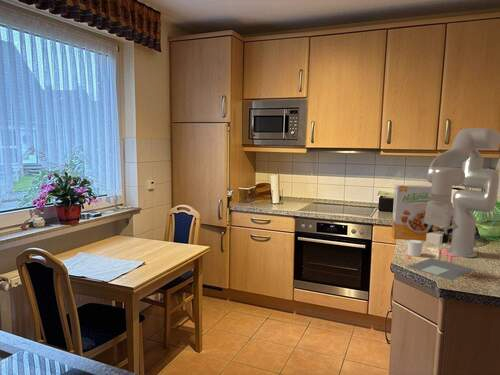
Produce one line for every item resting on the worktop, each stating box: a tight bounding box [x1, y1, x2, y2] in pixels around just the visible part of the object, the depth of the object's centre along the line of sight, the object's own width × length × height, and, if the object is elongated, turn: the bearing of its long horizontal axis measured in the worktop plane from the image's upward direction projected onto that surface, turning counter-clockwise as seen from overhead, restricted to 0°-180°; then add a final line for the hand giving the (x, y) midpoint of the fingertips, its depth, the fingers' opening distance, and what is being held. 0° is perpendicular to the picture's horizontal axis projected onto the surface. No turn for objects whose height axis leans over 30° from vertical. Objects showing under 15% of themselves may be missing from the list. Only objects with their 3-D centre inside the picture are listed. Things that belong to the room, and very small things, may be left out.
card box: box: [425, 230, 450, 246], centre depth 156 cm, size 8×6×4 cm
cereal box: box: [391, 184, 439, 242], centre depth 209 cm, size 22×6×30 cm, turn 82°
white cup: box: [406, 240, 424, 257], centre depth 179 cm, size 7×7×7 cm
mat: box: [406, 257, 476, 281], centre depth 160 cm, size 22×19×1 cm
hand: (437, 240), depth 156 cm, fingers closed on card box, 5 cm apart
